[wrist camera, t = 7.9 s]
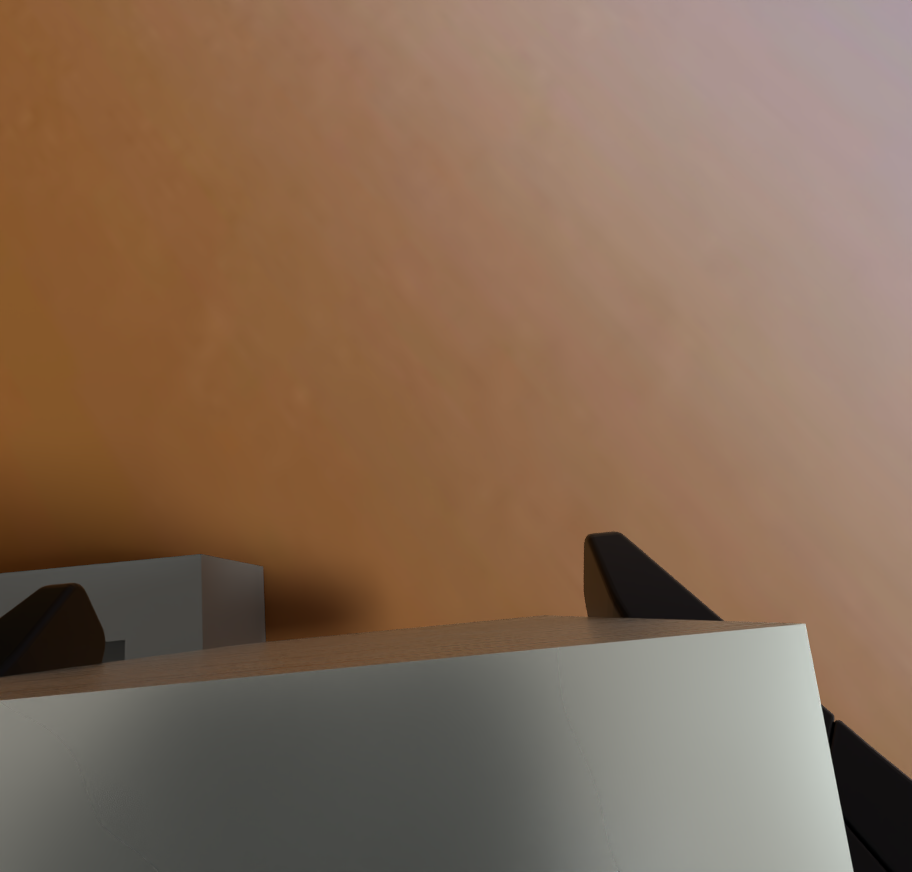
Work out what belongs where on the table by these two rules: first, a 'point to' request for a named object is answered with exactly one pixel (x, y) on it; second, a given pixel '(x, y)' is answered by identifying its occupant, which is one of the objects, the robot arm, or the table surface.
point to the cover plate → (431, 754)
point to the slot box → (160, 602)
